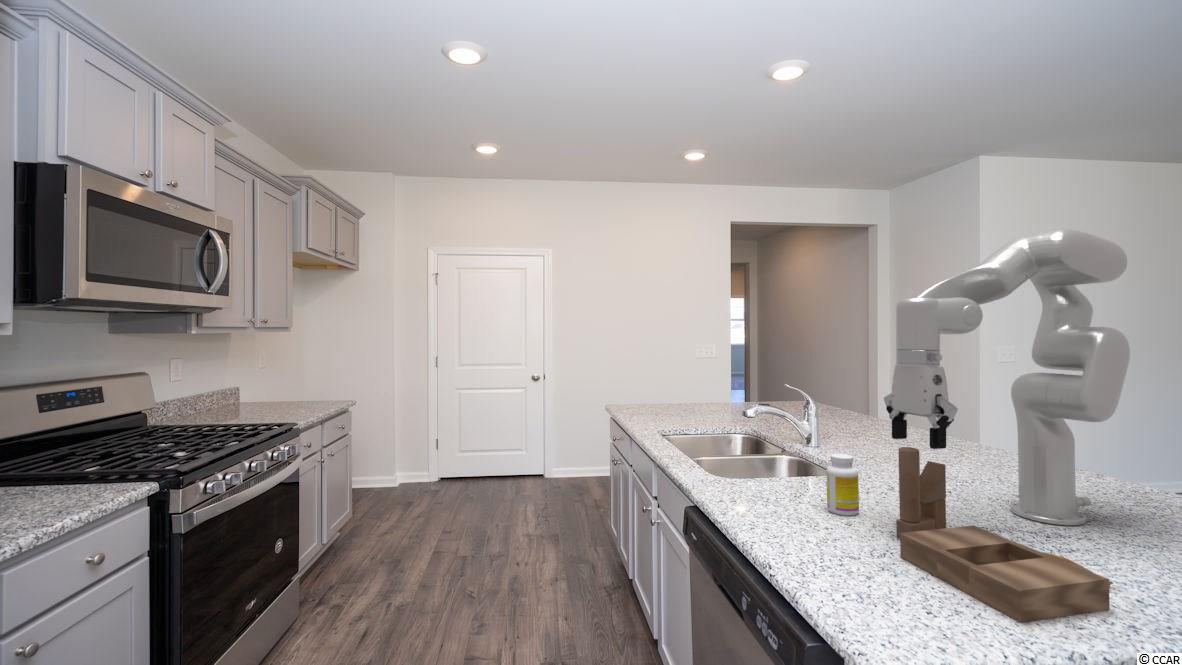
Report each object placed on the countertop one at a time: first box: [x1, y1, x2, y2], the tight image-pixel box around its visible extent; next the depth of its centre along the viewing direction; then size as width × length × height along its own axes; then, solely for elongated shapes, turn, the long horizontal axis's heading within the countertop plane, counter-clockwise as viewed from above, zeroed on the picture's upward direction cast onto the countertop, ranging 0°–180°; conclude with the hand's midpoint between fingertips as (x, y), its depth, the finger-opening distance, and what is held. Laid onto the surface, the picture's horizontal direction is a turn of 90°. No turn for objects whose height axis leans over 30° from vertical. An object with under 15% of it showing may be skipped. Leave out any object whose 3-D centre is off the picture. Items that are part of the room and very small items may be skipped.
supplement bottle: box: [825, 453, 860, 517], centre depth 120 cm, size 7×7×13 cm
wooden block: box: [895, 446, 947, 539], centre depth 106 cm, size 4×11×18 cm, turn 115°
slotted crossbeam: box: [899, 525, 1111, 623], centre depth 86 cm, size 16×22×4 cm
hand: (917, 443), depth 106 cm, fingers open, 9 cm apart
